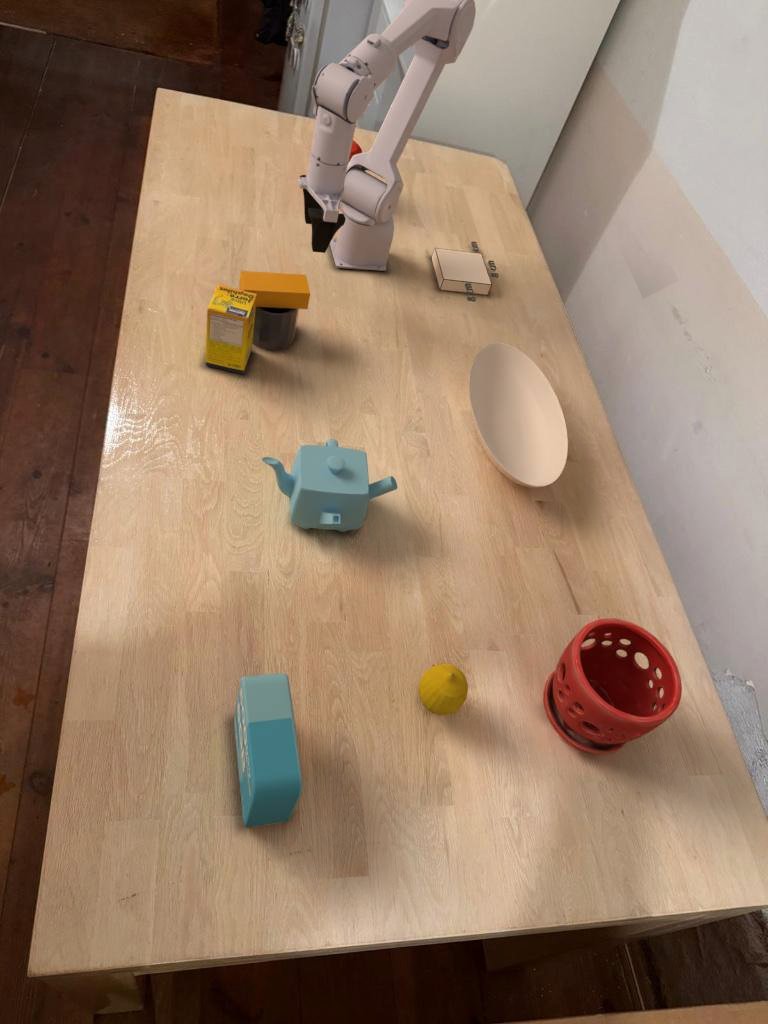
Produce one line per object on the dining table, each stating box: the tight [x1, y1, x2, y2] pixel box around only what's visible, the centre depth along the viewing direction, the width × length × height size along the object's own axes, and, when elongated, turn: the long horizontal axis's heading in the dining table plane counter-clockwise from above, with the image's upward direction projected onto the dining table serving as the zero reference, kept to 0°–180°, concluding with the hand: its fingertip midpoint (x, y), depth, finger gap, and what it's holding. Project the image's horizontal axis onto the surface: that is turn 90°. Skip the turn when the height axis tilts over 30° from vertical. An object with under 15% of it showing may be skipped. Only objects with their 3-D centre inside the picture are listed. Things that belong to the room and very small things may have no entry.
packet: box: [238, 270, 311, 310], centre depth 113 cm, size 10×4×3 cm, turn 102°
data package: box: [233, 672, 303, 828], centre depth 74 cm, size 12×4×12 cm, turn 12°
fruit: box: [418, 663, 469, 716], centre depth 85 cm, size 6×6×8 cm
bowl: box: [468, 342, 569, 488], centre depth 115 cm, size 30×15×6 cm, turn 4°
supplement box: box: [205, 284, 257, 375], centre depth 110 cm, size 6×6×11 cm
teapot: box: [261, 438, 398, 532], centre depth 97 cm, size 18×14×10 cm
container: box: [430, 241, 500, 303], centre depth 140 cm, size 20×12×3 cm, turn 8°
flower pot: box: [542, 618, 683, 755], centre depth 87 cm, size 13×13×12 cm
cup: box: [252, 307, 300, 351], centre depth 117 cm, size 8×8×7 cm
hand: (315, 236), depth 120 cm, fingers open, 7 cm apart
